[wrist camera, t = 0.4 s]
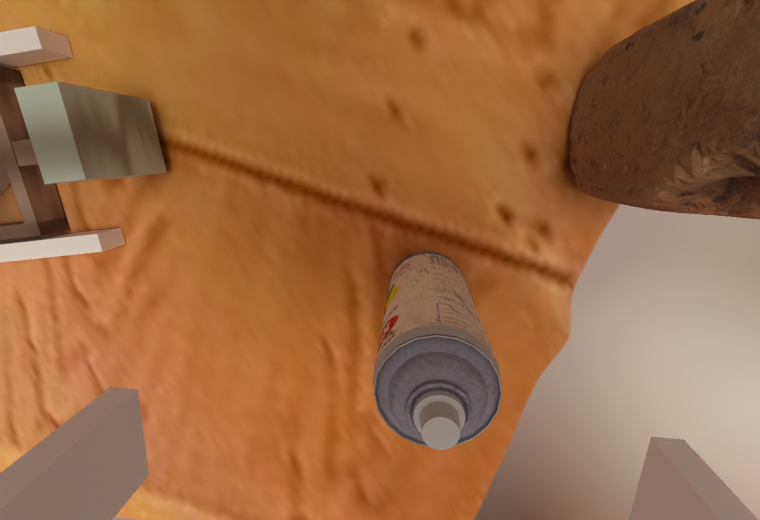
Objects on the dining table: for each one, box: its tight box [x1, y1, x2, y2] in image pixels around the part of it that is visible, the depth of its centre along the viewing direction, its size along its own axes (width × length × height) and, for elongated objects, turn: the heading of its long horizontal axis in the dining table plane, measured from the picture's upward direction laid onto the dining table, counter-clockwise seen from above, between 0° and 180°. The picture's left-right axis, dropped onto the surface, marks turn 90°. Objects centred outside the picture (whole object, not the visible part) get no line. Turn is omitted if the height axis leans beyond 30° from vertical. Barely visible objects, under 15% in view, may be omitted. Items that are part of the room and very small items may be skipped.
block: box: [570, 0, 760, 219], centre depth 23 cm, size 11×8×20 cm
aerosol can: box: [373, 252, 502, 450], centre depth 27 cm, size 7×7×20 cm
